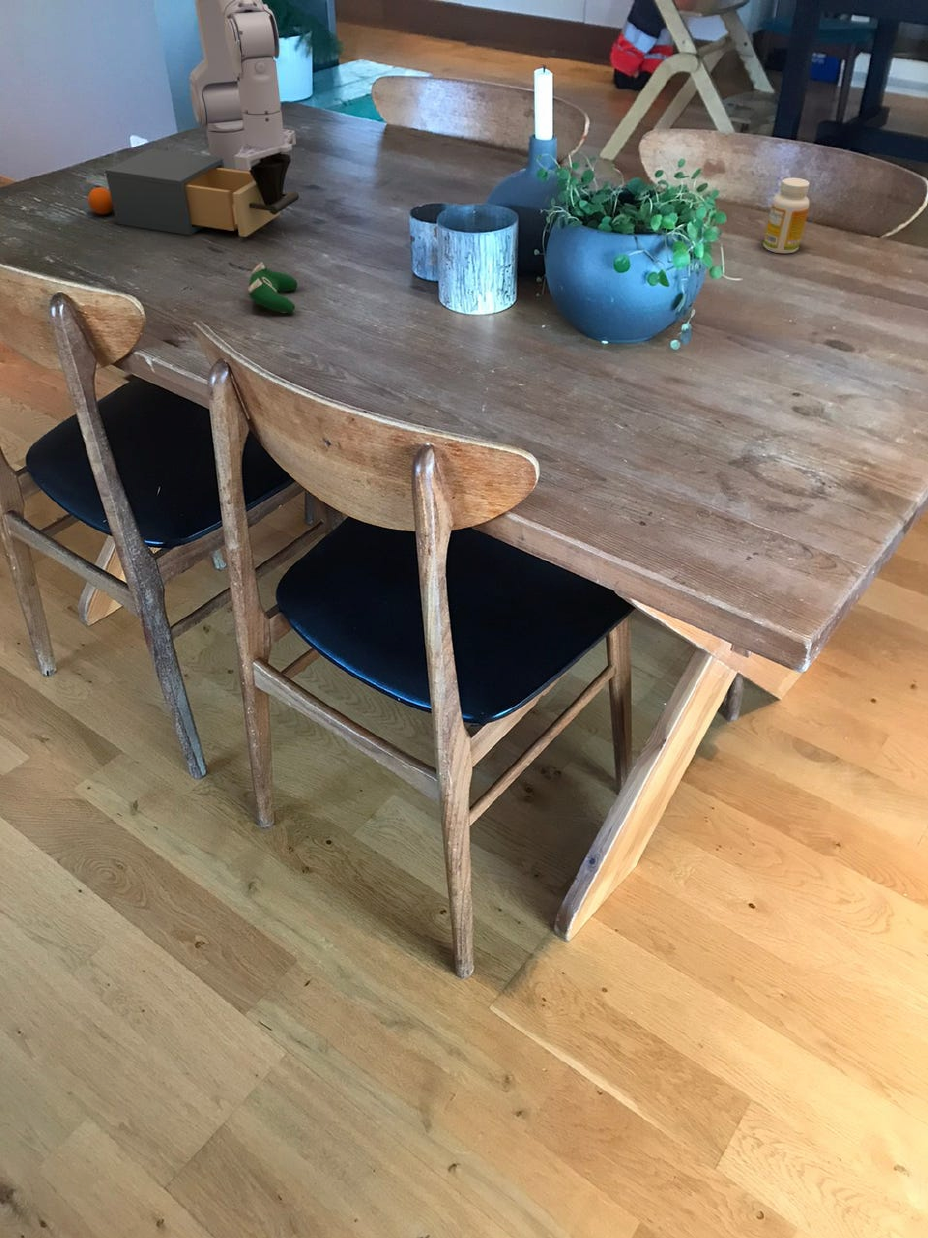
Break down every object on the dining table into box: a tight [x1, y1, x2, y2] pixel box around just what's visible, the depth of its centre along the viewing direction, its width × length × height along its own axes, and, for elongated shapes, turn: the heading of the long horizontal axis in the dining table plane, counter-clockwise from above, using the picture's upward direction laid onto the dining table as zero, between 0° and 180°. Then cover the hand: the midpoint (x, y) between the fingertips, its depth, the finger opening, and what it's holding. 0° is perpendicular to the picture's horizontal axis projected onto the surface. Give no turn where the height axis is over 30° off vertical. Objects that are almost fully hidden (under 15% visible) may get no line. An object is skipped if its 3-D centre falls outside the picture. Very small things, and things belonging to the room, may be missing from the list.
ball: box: [88, 186, 114, 215], centre depth 150 cm, size 4×4×4 cm
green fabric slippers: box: [247, 261, 298, 315], centre depth 126 cm, size 9×4×6 cm
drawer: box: [184, 167, 300, 238], centre depth 145 cm, size 17×11×6 cm, turn 69°
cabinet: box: [104, 148, 224, 236], centre depth 148 cm, size 14×12×8 cm
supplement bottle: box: [762, 177, 811, 254], centre depth 140 cm, size 5×5×10 cm
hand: (273, 207), depth 143 cm, fingers closed, pressing on drawer
